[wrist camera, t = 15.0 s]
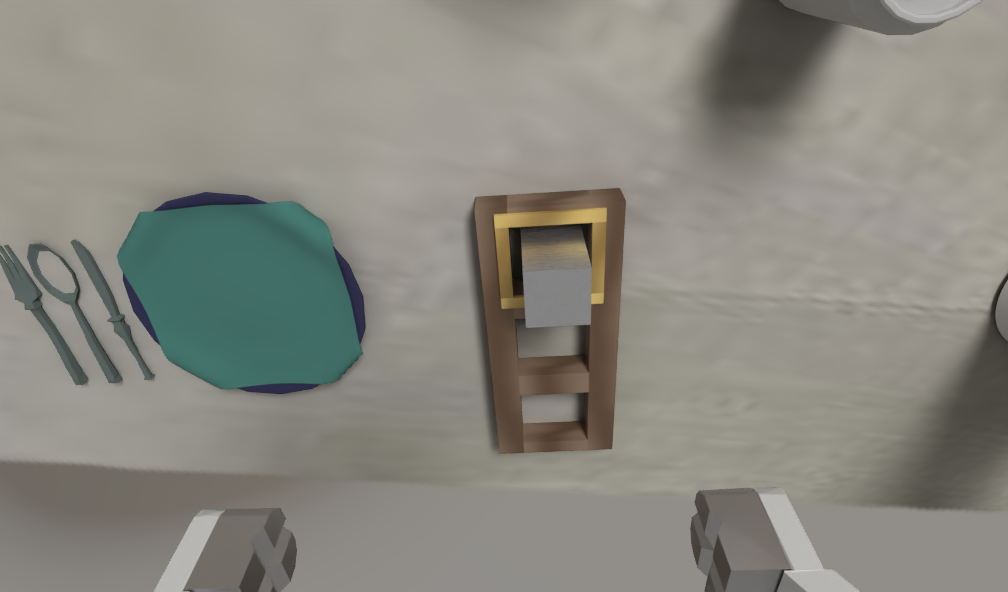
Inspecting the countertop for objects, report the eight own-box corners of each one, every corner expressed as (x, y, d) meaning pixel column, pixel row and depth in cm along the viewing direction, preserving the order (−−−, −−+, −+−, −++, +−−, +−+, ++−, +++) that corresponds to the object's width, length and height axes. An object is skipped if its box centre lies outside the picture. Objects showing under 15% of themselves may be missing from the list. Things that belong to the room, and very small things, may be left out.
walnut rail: (619, 188, 42) (626, 203, 40) (608, 429, 56) (612, 451, 54) (475, 196, 43) (474, 212, 40) (500, 434, 57) (499, 456, 54)
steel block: (578, 217, 44) (591, 268, 37) (578, 268, 46) (590, 324, 39) (520, 221, 44) (522, 272, 37) (523, 271, 46) (526, 328, 40)
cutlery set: (390, 375, 53) (385, 392, 51) (90, 390, 55) (74, 406, 53) (340, 175, 42) (332, 186, 40) (-29, 201, 44) (-54, 212, 42)
